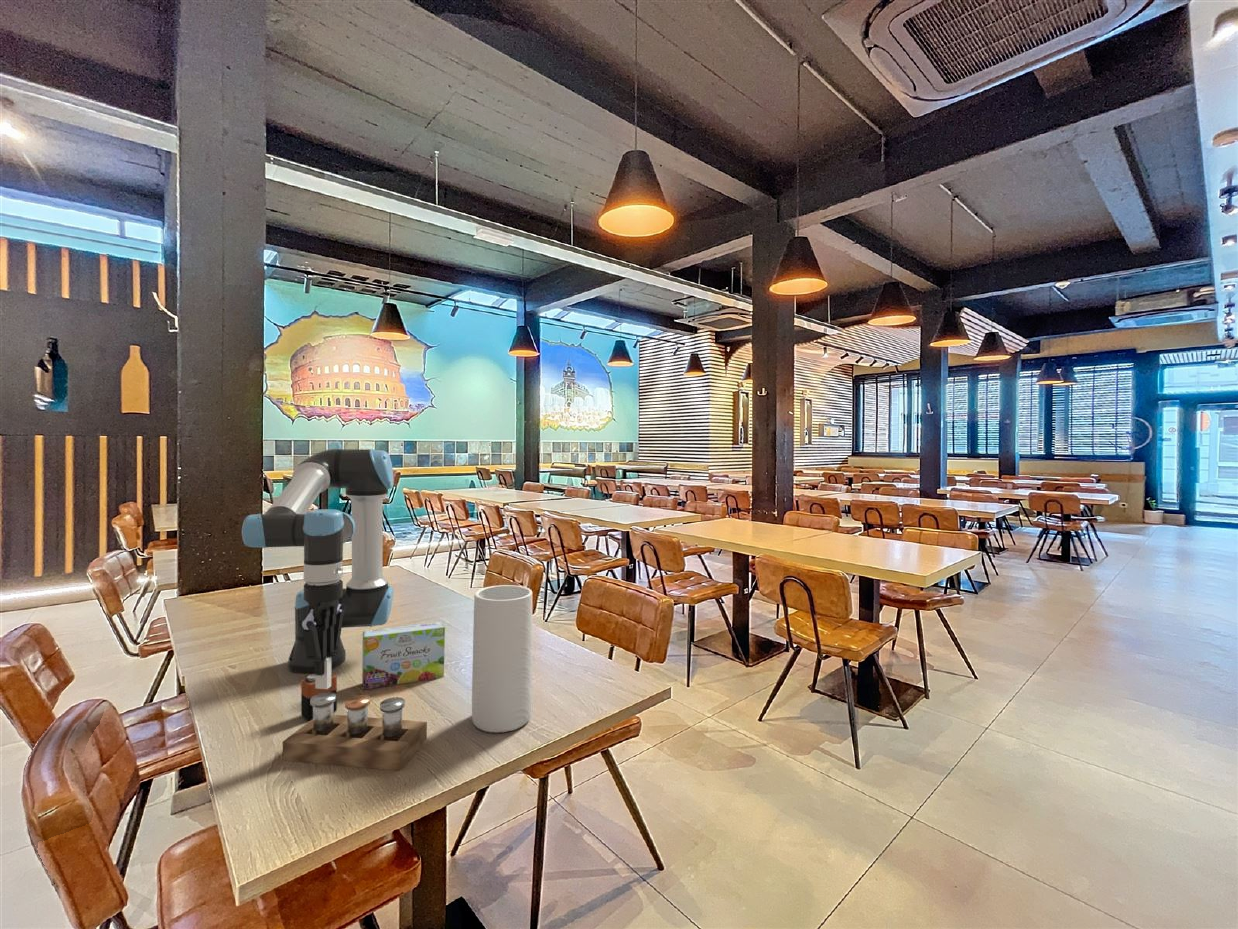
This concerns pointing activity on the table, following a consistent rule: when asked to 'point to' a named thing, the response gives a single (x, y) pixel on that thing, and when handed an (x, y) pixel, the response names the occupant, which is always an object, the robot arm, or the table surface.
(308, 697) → the battery
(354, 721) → the plug mid
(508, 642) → the vase
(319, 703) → the plug
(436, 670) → the snack box
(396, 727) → the plug
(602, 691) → the table surface
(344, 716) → the wooden jar holder
